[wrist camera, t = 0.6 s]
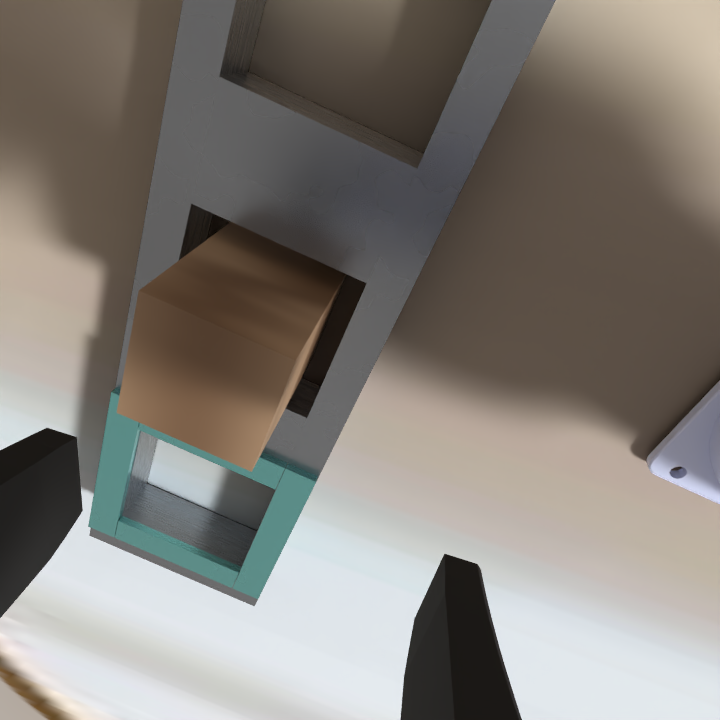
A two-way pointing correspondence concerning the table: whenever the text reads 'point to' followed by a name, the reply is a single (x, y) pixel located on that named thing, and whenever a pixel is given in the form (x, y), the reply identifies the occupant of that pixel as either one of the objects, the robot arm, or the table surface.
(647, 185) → the table surface
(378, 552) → the table surface
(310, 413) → the grey slotted board
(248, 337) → the walnut block
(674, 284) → the table surface
